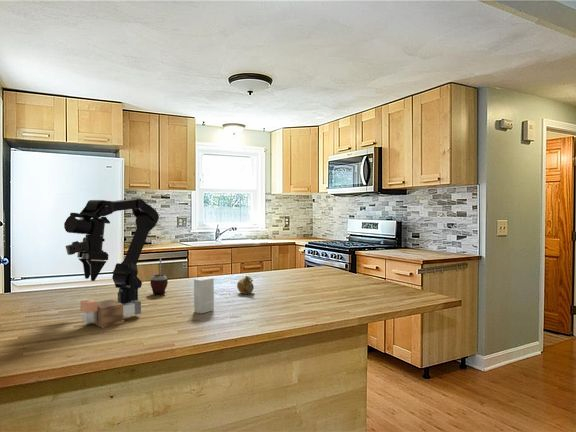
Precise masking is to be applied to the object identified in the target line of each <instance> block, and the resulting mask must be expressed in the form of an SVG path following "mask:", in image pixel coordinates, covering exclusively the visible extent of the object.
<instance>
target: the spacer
mask: <svg viewBox="0 0 576 432" xmlns="http://www.w3.org/2000/svg"><path fill="white" fill-rule="evenodd" d="M98 302H99V301H97V300H95V299H92V298H91V299H87V300H80V303H79V305H80V308H79V309H80V310H79V311H80V312H82V313H83V312H84V313H90V312H96V311H98Z"/></svg>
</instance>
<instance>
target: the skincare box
mask: <svg viewBox="0 0 576 432" xmlns="http://www.w3.org/2000/svg"><path fill="white" fill-rule="evenodd" d="M214 280H215V279H214V278H213V277H209V276H205V277H198V278H195V279H193V298H194V299H193V303H194V304H193V305H194V307H193V310H194V313H199V314H204V313H208V312H212V311H215V289H214V288H215V287H214V286H215V284H214Z"/></svg>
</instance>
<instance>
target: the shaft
mask: <svg viewBox="0 0 576 432" xmlns="http://www.w3.org/2000/svg"><path fill="white" fill-rule="evenodd" d="M140 314H142V301H140V300H139V299H138V300H133V301H131V302H129V303H124V304H123V317H126V316H128V317H129V316H132V315H140ZM93 322H98V311H96V312H90V313H84V312H82V323H84V324H86V325H88V324H94V323H93Z"/></svg>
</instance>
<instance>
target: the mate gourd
mask: <svg viewBox="0 0 576 432" xmlns="http://www.w3.org/2000/svg"><path fill="white" fill-rule="evenodd" d="M168 283H169V282H168V277H167V275H165V274H162V257H160V258H159V274H154V275H153V276H151V279H150V287H151V290H152V296H156V295H159V296H160V295H161V296H164V295H165V294H166V289H167V287H168Z"/></svg>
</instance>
